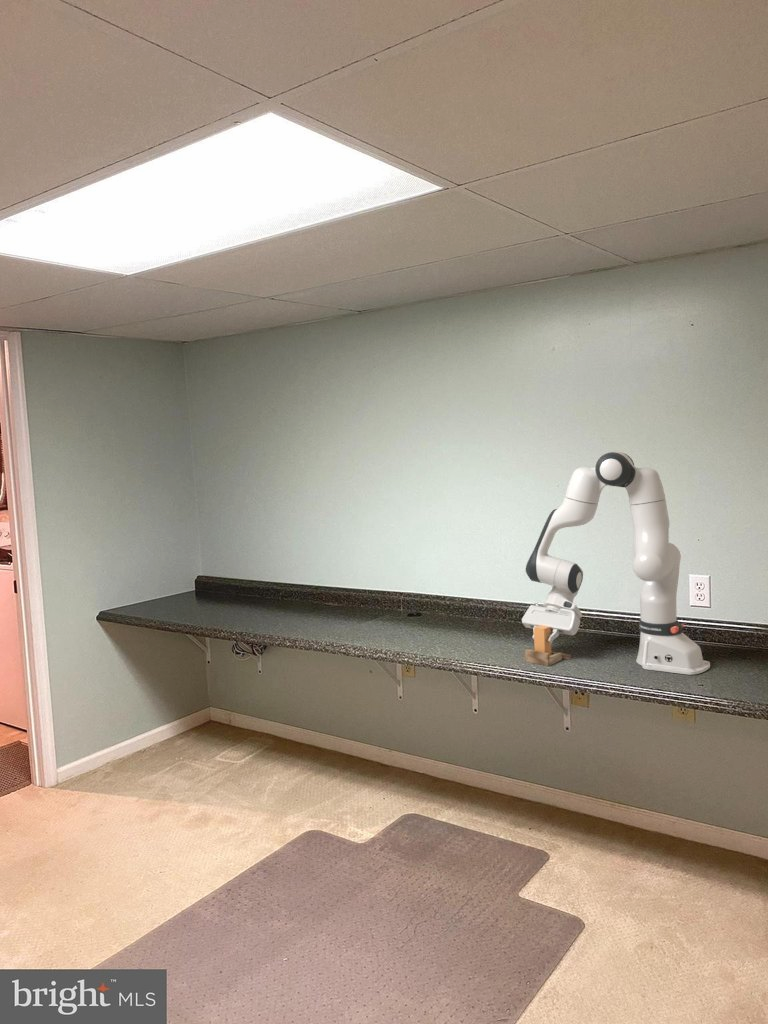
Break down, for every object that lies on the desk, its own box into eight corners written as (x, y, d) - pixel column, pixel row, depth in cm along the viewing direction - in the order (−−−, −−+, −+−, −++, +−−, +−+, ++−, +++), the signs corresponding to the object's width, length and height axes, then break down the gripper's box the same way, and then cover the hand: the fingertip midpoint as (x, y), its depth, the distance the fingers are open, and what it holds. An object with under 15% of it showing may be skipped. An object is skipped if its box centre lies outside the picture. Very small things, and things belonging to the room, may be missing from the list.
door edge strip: (571, 658, 262) (570, 654, 262) (568, 659, 261) (568, 656, 261) (540, 652, 270) (540, 649, 270) (538, 653, 269) (538, 650, 269)
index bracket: (561, 659, 261) (561, 648, 260) (547, 666, 255) (547, 654, 254) (539, 655, 267) (539, 644, 266) (525, 661, 261) (525, 650, 261)
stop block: (551, 655, 261) (550, 626, 260) (544, 658, 258) (544, 629, 257) (541, 653, 264) (540, 624, 263) (534, 656, 261) (533, 627, 260)
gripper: (527, 597, 271) (512, 631, 265) (579, 605, 257) (564, 640, 251) (535, 607, 275) (520, 640, 269) (586, 615, 260) (571, 650, 255)
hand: (541, 640), depth 260 cm, fingers closed on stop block, 4 cm apart
